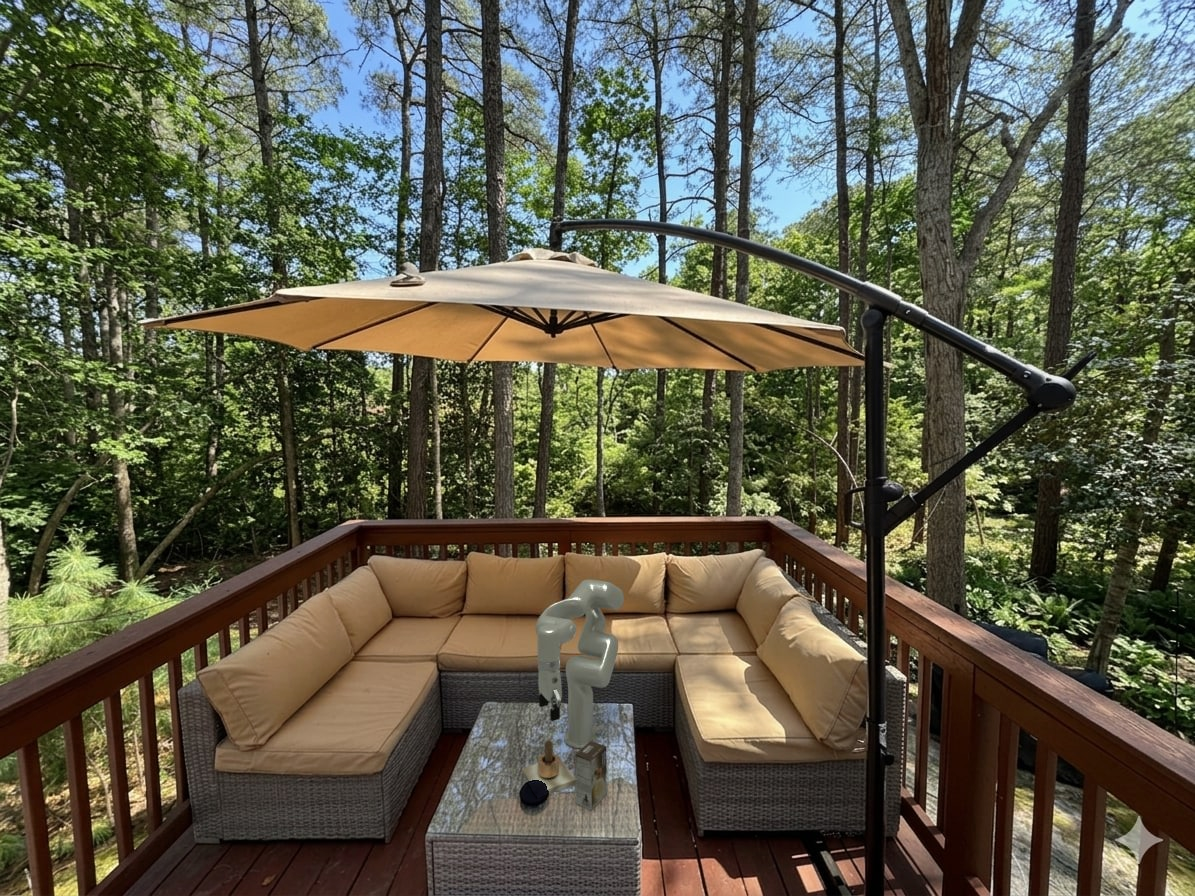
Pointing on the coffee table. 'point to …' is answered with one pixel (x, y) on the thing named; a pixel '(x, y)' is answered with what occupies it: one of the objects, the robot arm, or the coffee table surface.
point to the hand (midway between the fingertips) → (549, 712)
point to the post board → (554, 783)
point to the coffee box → (591, 775)
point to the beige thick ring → (548, 766)
